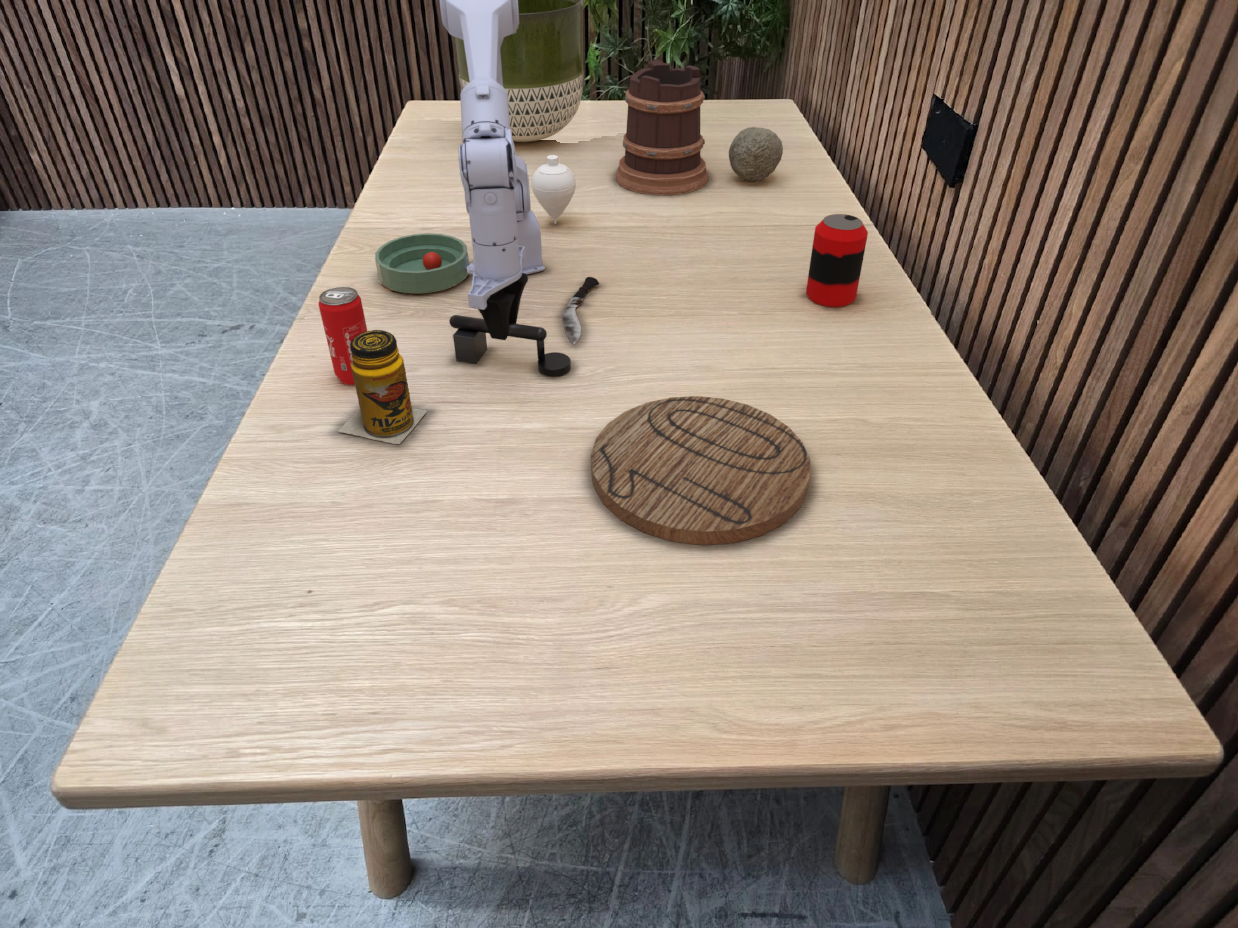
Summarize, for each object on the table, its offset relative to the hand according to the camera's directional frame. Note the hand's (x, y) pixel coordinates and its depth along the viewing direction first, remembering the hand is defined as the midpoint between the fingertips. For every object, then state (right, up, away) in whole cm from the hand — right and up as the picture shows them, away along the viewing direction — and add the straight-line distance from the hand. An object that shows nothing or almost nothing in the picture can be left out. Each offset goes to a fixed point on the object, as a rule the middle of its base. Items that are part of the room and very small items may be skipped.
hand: (503, 332), depth 119 cm
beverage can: (-20, -6, 0) cm, 21 cm away
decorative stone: (+42, +38, +55) cm, 79 cm away
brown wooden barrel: (+24, +40, +58) cm, 74 cm away
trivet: (+25, -18, -16) cm, 35 cm away
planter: (-5, +54, +76) cm, 94 cm away
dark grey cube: (-5, -3, +4) cm, 7 cm away
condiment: (-14, -13, -8) cm, 21 cm away
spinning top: (+4, +25, +39) cm, 46 cm away
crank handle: (+1, -4, +3) cm, 4 cm away
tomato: (-14, +15, +22) cm, 30 cm away
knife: (+10, +5, +13) cm, 17 cm away
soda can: (+48, +8, +18) cm, 52 cm away
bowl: (-15, +13, +23) cm, 30 cm away
